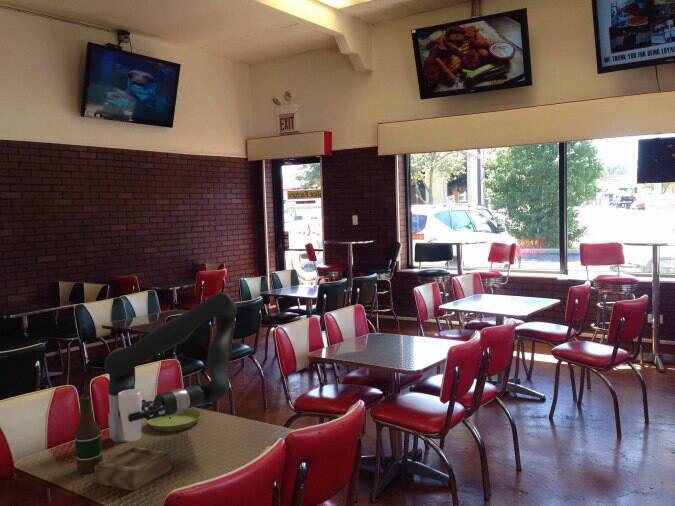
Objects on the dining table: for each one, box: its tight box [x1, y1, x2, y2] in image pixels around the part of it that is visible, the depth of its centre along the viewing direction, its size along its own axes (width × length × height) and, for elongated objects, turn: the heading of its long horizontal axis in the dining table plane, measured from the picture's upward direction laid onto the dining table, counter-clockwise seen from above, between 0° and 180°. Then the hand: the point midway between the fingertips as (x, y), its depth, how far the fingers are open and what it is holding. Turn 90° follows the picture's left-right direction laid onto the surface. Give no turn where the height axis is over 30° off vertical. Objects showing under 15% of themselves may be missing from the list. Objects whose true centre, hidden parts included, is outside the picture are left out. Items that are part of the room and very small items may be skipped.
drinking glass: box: [118, 388, 143, 443], centre depth 186 cm, size 7×7×15 cm
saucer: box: [146, 408, 202, 432], centre depth 233 cm, size 21×21×3 cm
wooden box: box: [94, 445, 172, 492], centre depth 187 cm, size 16×16×6 cm
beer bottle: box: [74, 395, 104, 474], centre depth 193 cm, size 8×8×24 cm
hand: (123, 416), depth 184 cm, fingers closed on drinking glass, 6 cm apart
